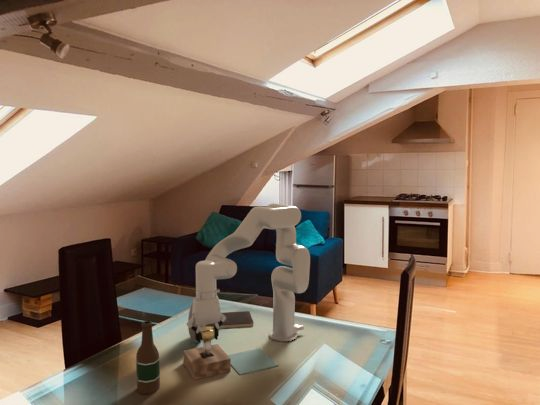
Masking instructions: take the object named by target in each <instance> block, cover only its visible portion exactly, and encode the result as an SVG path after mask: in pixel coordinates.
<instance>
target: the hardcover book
mask: <svg viewBox="0 0 540 405" xmlns="http://www.w3.org/2000/svg"><path fill="white" fill-rule="evenodd" d="M221 313H222V314H223V315H224V316H225V317H226V320H225V321H224V322H223V324H222V325H221V326H220V328H219V329H225V328H240V327H241V328H242V327H253V326H254V323H255V322H254V320H253V318H252V314H251V312H250V311H249V310H246V311H245V310H244V311H229V312H228V311H227V312H221ZM205 327H214V324H213V323H212V324H207V325H205Z"/></svg>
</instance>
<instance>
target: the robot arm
mask: <svg viewBox="0 0 540 405" xmlns="http://www.w3.org/2000/svg"><path fill="white" fill-rule="evenodd" d="M301 219H302V212H301V210H300V209H299V208H298V207H297V206H296V205H295V206H294V205H290V204H283V203H269V204H268V205H266V206H260V205H259V206H254V207H252V208H251V209H250V211H249V212H248V213H247V215H246V217H244V219H243V220H242V222H241V223H240V224H239V226H238V227H237V228H236V230H235V231H234V232H233V233H231V234H230V235H228V236H226V237H225V238H223V239H221V240H220V241H218V242H217V243H216V244H215V245H214V246H213V248H212V249H211V250H210V251H209V252H208V254H207V256H206V258H205V260H200V261H198V262H197V263H196V264H195V297H193V301H192V303H193V309H192V317H191V318H190V320H189V321H188V320H187V322H186V326H187V327H190V328H191V329H192V330H194V331H195V339H196V341H198V344H200V343H201V342H202V340H201V333H200V328H201V325H207V324H212V323H213V324H214V327H213V328H215V338H214V339H215V340H218V337H219V335H220V334H219V332H220V331H219V330H220V329H221V328H220V326H221V325H222V324H223V322H224V321H225V320H226V317H225V316H224V315H223V314H222V313H223V312H221V306H220V298H219V296H218V293H219V294H220V292H221V289H219V288H217V280H227V279H231V278H233V277H234V276H236V274H237V271H238V266H237V263H236V262H235V261H234V260H232V259H231V258H226V257H228V255H230V254H232V253H233V252H236V251H238V250H241V249H245V248H249V247H251V246H252V245H253V244H254V242H255V241H256V240H257V238H258V237H259V235H260V234H261V232H262V231H263V230H264V229H268V230H275V231H276V241H275V242H276V244H275V257H276V258H275V259H276V261H277V262H278V263H280V264H282V265H280V266H276V267H275V268H274V269H273V270H272V272H271V278H270V279H271V286H272V291H273V292H272V293H273V295H272V297H273V299H272V300H273V302H272V306H273V307H272V330H271V331H270V332H269V338H270V339H272V340H273V341H276V342H283V343H288V341H289V342H292V340H293V341H295V340H296V339H298V337H297V336H298V331H303V330H304V329H305V327H304V325H303V324H302V325H299V324H295V315H296V314H295V309H296V308H295V305H296V296H295V294H302V293H303V294H304V293H305V292H306V290H307V289H308V288H309V281H310V271H311V270H310V269H311V254H310V251H309V249H308V248H307V247H305V245H304V246H303V245H300V244H297V230H296V227H295V226H297V225H298V224H299V223H300V222H301ZM284 265H287V266H284ZM289 266H290V267H289ZM193 322H195V326H193V325H192V323H193ZM294 339H295V340H294Z"/></svg>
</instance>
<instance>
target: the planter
mask: <svg viewBox="0 0 540 405" xmlns="http://www.w3.org/2000/svg"><path fill="white" fill-rule="evenodd" d="M192 309H193V302H192V304H191V306H190V307H189V311H188V312H189V313H188V320H187V322H188V321H189V320H190V318H191V317H192ZM192 325H193V326H195V322H193V323H192ZM187 327H188V326H187ZM202 327H205V325H201V328H202ZM187 330H188V334H189V337H190V340H191V341H192V342H193V343H194V344H197V343H198V341H196V339H195V331H194V330H192V329H191V328H190V327H188V328H187ZM198 344H199V343H198Z"/></svg>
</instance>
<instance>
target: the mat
mask: <svg viewBox="0 0 540 405" xmlns="http://www.w3.org/2000/svg"><path fill="white" fill-rule="evenodd" d="M227 355H228V356H229V357H230V359H231V367H232V368H233V370H234V371H236V373H237V374H238V375H239V376H242V375H246V374H251V373H253V372H254V373H255V372H258V371H264V370H267V369H271V368H276V367H279V364H278V363H276V361H274V360H273V359H272V358H271V357H270V356H269V355H268V354H267V353H266V352H265V351H264V350H262V348H261V347H258V348H255V349H251V350H245V351H241V352H235V353H231V354H227Z"/></svg>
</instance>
